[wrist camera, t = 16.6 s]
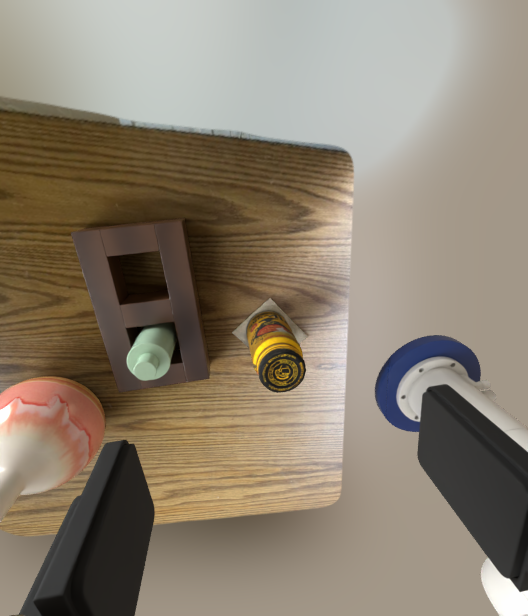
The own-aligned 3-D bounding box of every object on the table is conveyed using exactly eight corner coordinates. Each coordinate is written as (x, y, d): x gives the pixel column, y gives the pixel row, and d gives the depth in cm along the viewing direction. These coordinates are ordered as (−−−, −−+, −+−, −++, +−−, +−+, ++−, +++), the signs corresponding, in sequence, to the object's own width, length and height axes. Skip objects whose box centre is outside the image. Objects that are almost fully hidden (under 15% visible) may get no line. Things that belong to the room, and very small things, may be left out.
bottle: (174, 314, 43) (162, 348, 34) (181, 346, 45) (171, 386, 36) (138, 319, 43) (116, 355, 34) (146, 350, 45) (127, 393, 35)
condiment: (269, 297, 44) (286, 333, 33) (307, 336, 47) (335, 381, 36) (231, 331, 45) (236, 378, 34) (271, 367, 48) (286, 421, 37)
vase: (119, 365, 45) (61, 466, 28) (114, 443, 49) (62, 570, 33) (9, 354, 42) (-125, 458, 26) (14, 437, 46) (-97, 572, 30)
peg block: (184, 217, 39) (181, 220, 36) (210, 363, 47) (209, 378, 43) (84, 228, 38) (70, 232, 34) (126, 376, 45) (118, 392, 42)
